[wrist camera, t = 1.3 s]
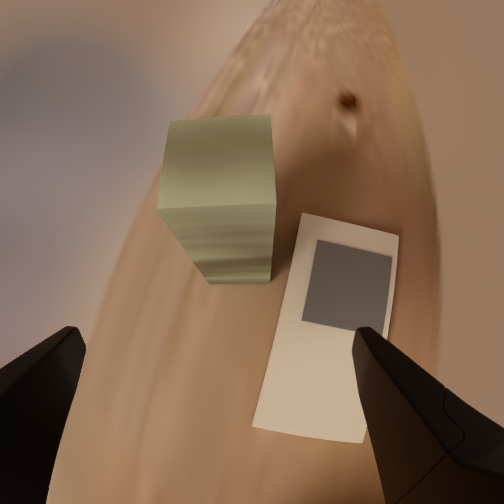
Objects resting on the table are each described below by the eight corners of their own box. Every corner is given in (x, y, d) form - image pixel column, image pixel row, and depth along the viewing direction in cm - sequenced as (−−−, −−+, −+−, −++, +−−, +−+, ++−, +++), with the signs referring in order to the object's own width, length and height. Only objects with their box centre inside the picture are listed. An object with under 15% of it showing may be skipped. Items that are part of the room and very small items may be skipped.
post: (269, 282, 23) (276, 203, 11) (209, 284, 23) (156, 209, 11) (267, 226, 25) (270, 114, 13) (210, 228, 25) (170, 121, 13)
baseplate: (357, 439, 19) (363, 443, 18) (252, 422, 20) (251, 426, 18) (393, 241, 24) (399, 234, 22) (300, 219, 25) (302, 211, 23)
